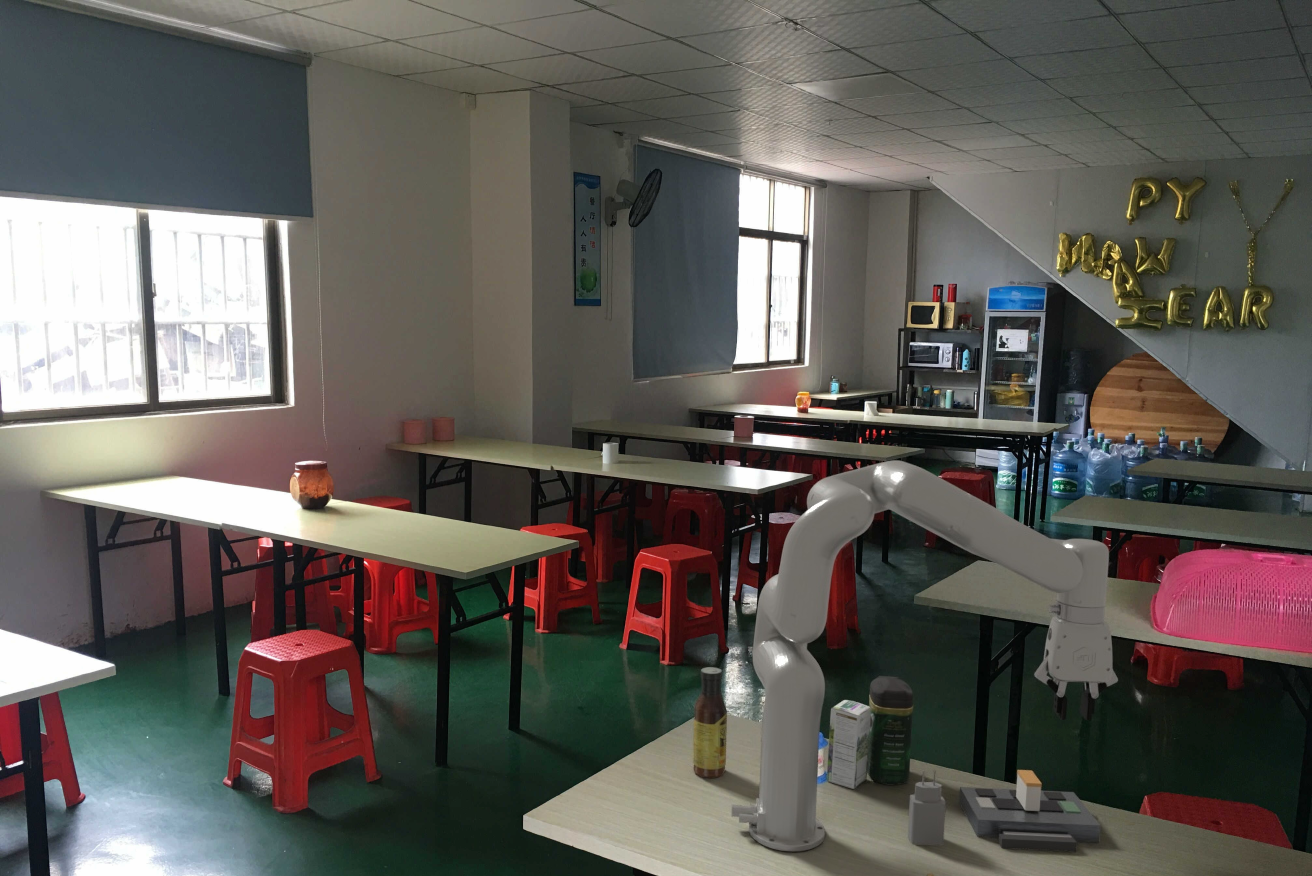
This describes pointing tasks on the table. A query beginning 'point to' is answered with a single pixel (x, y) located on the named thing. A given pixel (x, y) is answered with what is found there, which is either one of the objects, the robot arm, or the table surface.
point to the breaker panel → (1027, 814)
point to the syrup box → (848, 744)
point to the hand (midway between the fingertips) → (1073, 716)
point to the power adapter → (927, 814)
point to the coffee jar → (890, 730)
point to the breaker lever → (1028, 790)
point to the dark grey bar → (1037, 841)
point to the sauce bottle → (710, 726)
